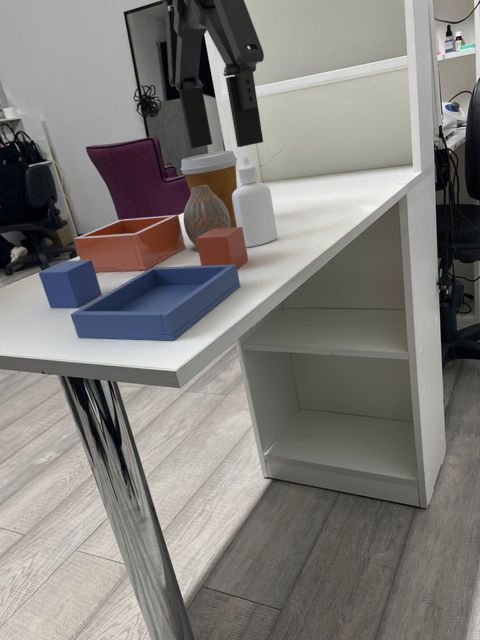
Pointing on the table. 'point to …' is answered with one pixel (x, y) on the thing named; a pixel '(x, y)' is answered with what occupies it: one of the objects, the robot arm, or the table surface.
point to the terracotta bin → (131, 243)
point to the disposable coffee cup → (214, 176)
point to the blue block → (70, 284)
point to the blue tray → (157, 303)
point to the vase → (204, 213)
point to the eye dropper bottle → (253, 207)
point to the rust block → (222, 247)
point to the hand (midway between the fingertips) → (223, 145)
